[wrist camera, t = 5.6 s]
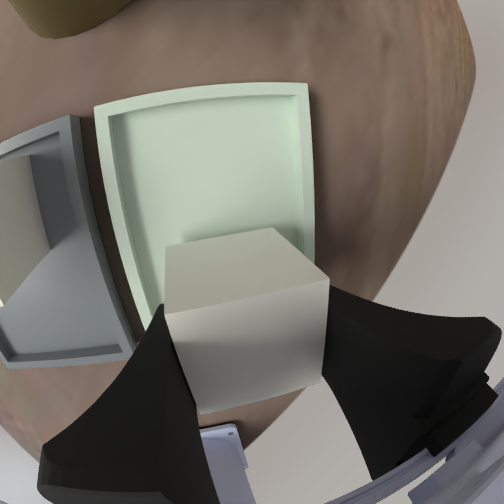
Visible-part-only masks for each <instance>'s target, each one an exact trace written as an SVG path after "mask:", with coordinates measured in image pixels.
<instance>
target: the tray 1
mask: <svg viewBox="0 0 504 504" xmlns="http://www.w3.org/2000/svg"><path fill="white" fill-rule="evenodd" d="M24 155H29V156H30V163H31V169H32V175H33V181H34V186H35V191H36V196H37V200H38V205H39V209H40V213H41V217H42V221H43V225H44V228H45V232H46V235H47V239H48V242H49V245H50V249H51V251H50V252H49V253H48V254H47V255H46V256H45V257H44V258H43V259H42V260H41V262H40V263H39V264H38V265H37V266H36V267H35V268H34V270H33V271H32V272H31V273H30V274H29V275H28V277H27V278H26V279H25V280H24V281H23V283H22V284H21V285H20V286H19V288H18V289H17V290H16V291H15V293H14V294H13V295H12V296H11V298H10V299H9V300H8V302H7V303H6V304H5V306H2V307H0V359H1V361H2V362H3V364H4V365H5V367H6V368H7V369H17V368H45V367H62V366H75V365H86V364H96V363H105V362H113V361H121V360H129V359H130V357H131V356H132V354H133V352H134V351H135V349H136V348H137V341H136V339H135V336H134V334H133V331H132V329H131V326H130V324H129V321H128V319H127V316H126V314H125V311H124V308H123V306H122V303H121V300H120V297H119V294H118V292H117V289H116V286H115V283H114V280H113V277H112V273H111V270H110V267H109V264H108V260H107V257H106V254H105V250H104V247H103V243H102V239H101V236H100V232H99V228H98V224H97V220H96V215H95V211H94V207H93V202H92V197H91V192H90V187H89V182H88V177H87V171H86V165H85V158H84V151H83V144H82V136H81V127H80V117H78V116H74V115H70V114H69V115H66V116H64V117H61V118H58V119H55V120H52V121H50V122H47V123H45V124H42V125H40V126H37V127H35V128H32V129H30V130H28V131H25V132H23V133H21V134H18V135H16V136H14V137H12V138H10V139H8V140H6V141H4V142H2V143H0V160H4V159H9V158H14V157H19V156H24Z"/></svg>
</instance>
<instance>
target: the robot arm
mask: <svg viewBox="0 0 504 504" xmlns="http://www.w3.org/2000/svg"><path fill="white" fill-rule="evenodd" d="M501 335H502V331H501V329H500V328H499V327H498V326H497V325H495V324H494V323H493V322H492V321H490V320H489V319H487V318H485V317H444V316H433V315H425V314H419V313H414V312H408V311H404V310H399V309H395V308H392V307H388V306H384V305H381V304H378V303H375V302H372V301H369V300H366V299H363V298H361V297H358V296H355V295H353V294H350V293H348V292H345V291H343V290H341V289H338V288H336V287H334V286H332V285H329V299H328V313H327V325H326V336H325V347H324V356H323V365H322V373H321V374H322V376H323V377H324V379H325V380H326V382H327V383H328V385H329V386H330V388H331V390H332V391H333V393H334V395H335V397H336V399H337V401H338V403H339V405H340V406H341V408H342V410H343V413H344V415H345V417H346V419H347V420H348V423H349V425H350V427H351V429H352V431H353V434H354V436H355V438H356V440H357V443H358V445H359V447H360V449H361V452H362V455H363V457H364V460H365V462H366V465H367V468H368V470H369V473H370V476H371V479H372V480H373V481H372V482H370V483H368V484H366V485H364V486H362V487H360V488H358V489H356V490H354V491H352V492H350V493H348V494H346V495H343V496H341V497H339V498H337V499H334V500H332V501H329V502H327V503H325V504H375V503H377V502H379V501H381V500H383V499H384V498H386V497H388V496H389V495H391V494H393V493H395V492H396V491H398V490H399V489H401V488H403V487H404V486H406V485H407V484H409V483H410V482H412V481H413V480H415V479H416V478H418V477H419V476H420V475H422V474H423V473H425V472H426V471H427V470H428V469H430V468H431V467H433V466H434V465H435V464H437V463H438V462H439V461H441V460H442V459H443V458H444V457H445V456H446V463H445V464H444V465H442V466H441V467H440V468H439V469H437V470H436V471H435V472H434V473H433V474H431V475H430V476H429V477H428V478H427V479H426V480H424V481H423V482H422V483H421V484H419V485H418V486H417V487H415V488H414V489H412V490H411V491H410V492H408V496H409V498H410V499H411V501H412V504H504V378H503V379H502V380H501V381H500V382H499V383H498V384H497V385H496V387H495V388H494V389H492V388H491V387H490V386H489V385H488V384H487V382H488V380H489V376H488V375H487V374H486V373H485V372H484V371H485V369H486V367H487V366H488V364H489V362H490V360H491V359H492V357H493V355H494V353H495V351H496V349H497V347H498V345H499V342H500V340H501ZM246 468H248V464H247V461H246V458H245V454H244V451H243V448H242V444H241V441H240V437H239V434H238V431H237V427H236V425H235V424H225V425H220V426H215V427H210V428H205V429H199V424H198V418H197V408H196V402H195V400H194V397H193V395H192V392H191V390H190V387H189V385H188V382H187V380H186V377H185V374H184V372H183V369H182V366H181V364H180V361H179V358H178V355H177V352H176V349H175V347H174V344H173V341H172V338H171V335H170V332H169V328H168V325H167V322H166V319H165V316H164V303H163V304H159V306H158V307H157V309H156V312H155V314H154V316H153V318H152V320H151V322H150V324H149V326H148V328H147V330H146V332H145V333H144V335H143V337H142V339H141V341H140V343H139V344H138V346H137V348H136V349H135V351H134V352H133V354H132V356H131V357H130V359H129V361H128V362H127V364H126V365H125V367H124V368H123V369H122V371H121V372H120V374H119V375H118V376H117V377H116V379H115V380H114V381H113V383H112V384H111V385H110V386H109V387H108V388H107V389H106V390H105V392H104V393H103V394H102V395H101V396H100V397H99V398H98V399H97V400H96V402H95V403H94V404H93V405H92V406H91V407H90V408H89V409H87V410H86V411H85V412H84V413H83V414H82V415H81V416H80V417H79V418H78V419H77V420H75V421H74V422H73V423H72V424H71V425H69V426H68V427H67V428H66V429H64V430H63V431H62V432H60V433H59V434H58V435H56V436H55V437H54V438H52V439H51V440H49V441H48V442H47V443H45V444H44V445H43V447H42V452H41V458H40V465H39V472H38V481H37V489H38V491H39V492H40V494H41V495H42V496H43V497H44V498H45V499H47V500H48V501H50V502H52V503H53V504H256V502H255V499H254V496H253V493H252V491H251V488H250V485H249V482H248V479H247V476H246V473H245V470H244V469H246ZM0 504H7V503H5V502H2V501H0Z"/></svg>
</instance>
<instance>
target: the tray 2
mask: <svg viewBox="0 0 504 504" xmlns="http://www.w3.org/2000/svg"><path fill="white" fill-rule="evenodd" d="M94 115H95V125H96V134H97V142H98V150H99V157H100V163H101V170H102V175H103V181H104V187H105V192H106V197H107V202H108V206H109V211H110V216H111V220H112V224H113V228H114V232H115V236H116V240H117V244H118V248H119V252H120V255H121V259H122V262H123V266H124V269H125V273H126V276H127V279H128V282H129V286H130V289H131V292H132V295H133V298H134V301H135V304H136V307H137V310H138V312H139V315H140V318H141V321H142V323H143V326H144V329H145V331H146V330H147V328H148V326H149V324H150V322H151V320H152V318H153V316H154V314H155V312H156V309H157V307H158V306H159V304H163V303H164V281H165V253H166V246H171V245H176V244H182V243H187V242H192V241H198V240H203V239H209V238H214V237H220V236H225V235H231V234H236V233H242V232H248V231H254V230H259V229H265V228H271V227H273V228H274V229H275V230H276V231H277V232H278V233H280V234H281V235H282V236H283V237H284V238H285V239H286V240H288V241H289V242H290V243H291V244H292V245H293V246H294V247H295V248H297V249H298V250H299V251H300V252H301V253H302V254H303V255H304V256H306V257H307V258H308V259H309V260H310V261H311V262H312V263H313V264H314V263H315V213H314V175H313V153H312V135H311V120H310V108H309V96H308V85H307V83H284V82H258V83H232V84H218V85H207V86H197V87H189V88H181V89H174V90H168V91H162V92H156V93H150V94H145V95H140V96H135V97H131V98H126V99H122V100H118V101H114V102H110V103H106V104H102V105H99V106H95V107H94Z"/></svg>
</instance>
